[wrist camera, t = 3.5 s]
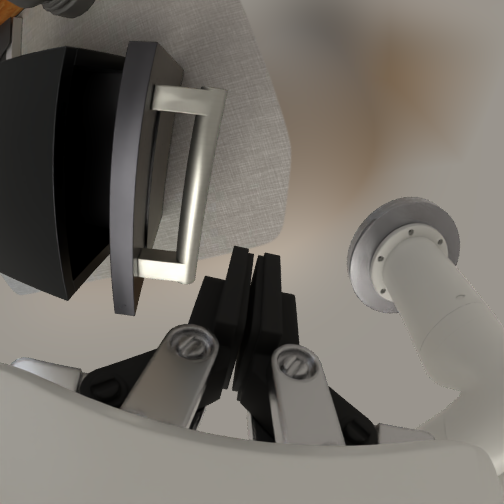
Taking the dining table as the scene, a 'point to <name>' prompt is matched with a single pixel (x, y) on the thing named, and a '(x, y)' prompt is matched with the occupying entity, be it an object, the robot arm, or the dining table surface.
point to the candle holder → (58, 6)
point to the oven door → (156, 171)
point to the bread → (8, 10)
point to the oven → (56, 165)
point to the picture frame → (10, 38)
